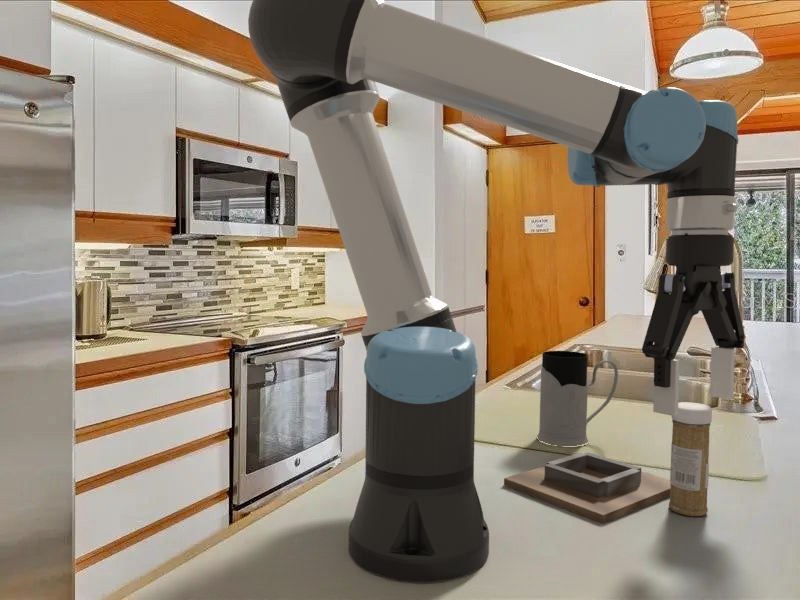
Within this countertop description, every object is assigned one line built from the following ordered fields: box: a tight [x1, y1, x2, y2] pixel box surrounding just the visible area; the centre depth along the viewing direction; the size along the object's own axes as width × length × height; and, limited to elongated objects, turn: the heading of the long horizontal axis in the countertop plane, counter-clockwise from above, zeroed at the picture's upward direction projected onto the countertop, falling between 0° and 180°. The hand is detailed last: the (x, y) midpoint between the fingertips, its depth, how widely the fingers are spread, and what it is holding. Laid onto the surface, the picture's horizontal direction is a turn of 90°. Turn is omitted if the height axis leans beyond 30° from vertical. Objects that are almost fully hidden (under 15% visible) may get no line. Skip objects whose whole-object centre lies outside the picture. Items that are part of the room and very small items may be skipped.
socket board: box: [503, 452, 671, 524], centre depth 90 cm, size 18×16×3 cm
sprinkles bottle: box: [668, 401, 713, 517], centre depth 82 cm, size 5×5×13 cm
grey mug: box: [536, 350, 619, 446], centre depth 113 cm, size 9×14×15 cm, turn 100°
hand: (694, 405), depth 82 cm, fingers open, 13 cm apart
